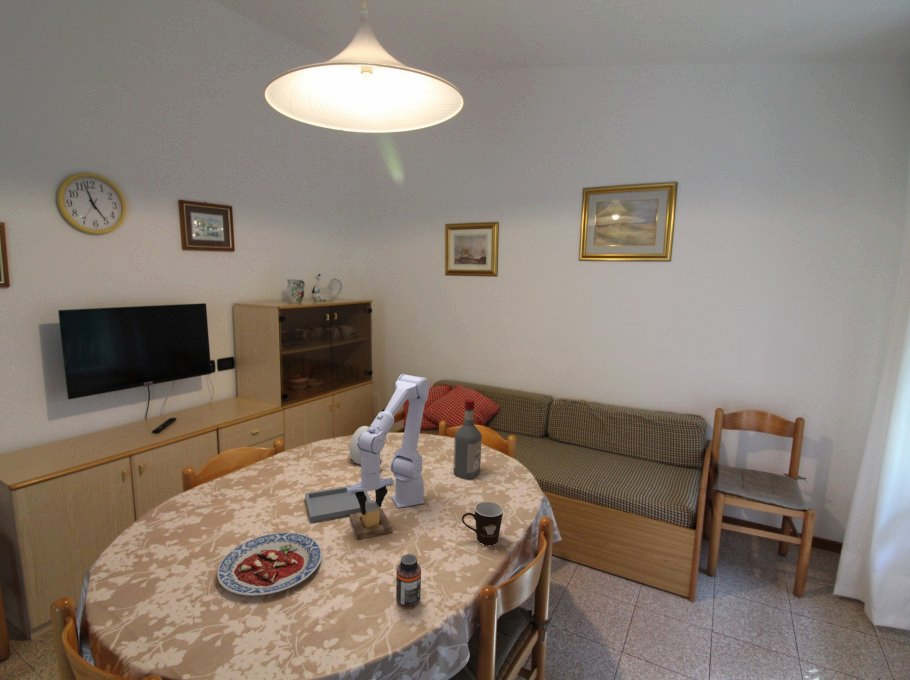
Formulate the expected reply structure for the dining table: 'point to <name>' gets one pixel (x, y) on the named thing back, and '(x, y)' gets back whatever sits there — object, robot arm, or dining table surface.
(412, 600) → the supplement bottle
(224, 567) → the ceramic plate
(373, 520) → the block
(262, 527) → the dining table surface
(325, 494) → the parts tray
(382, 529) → the socket
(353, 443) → the decorative egg
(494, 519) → the coffee mug
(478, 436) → the liquor
